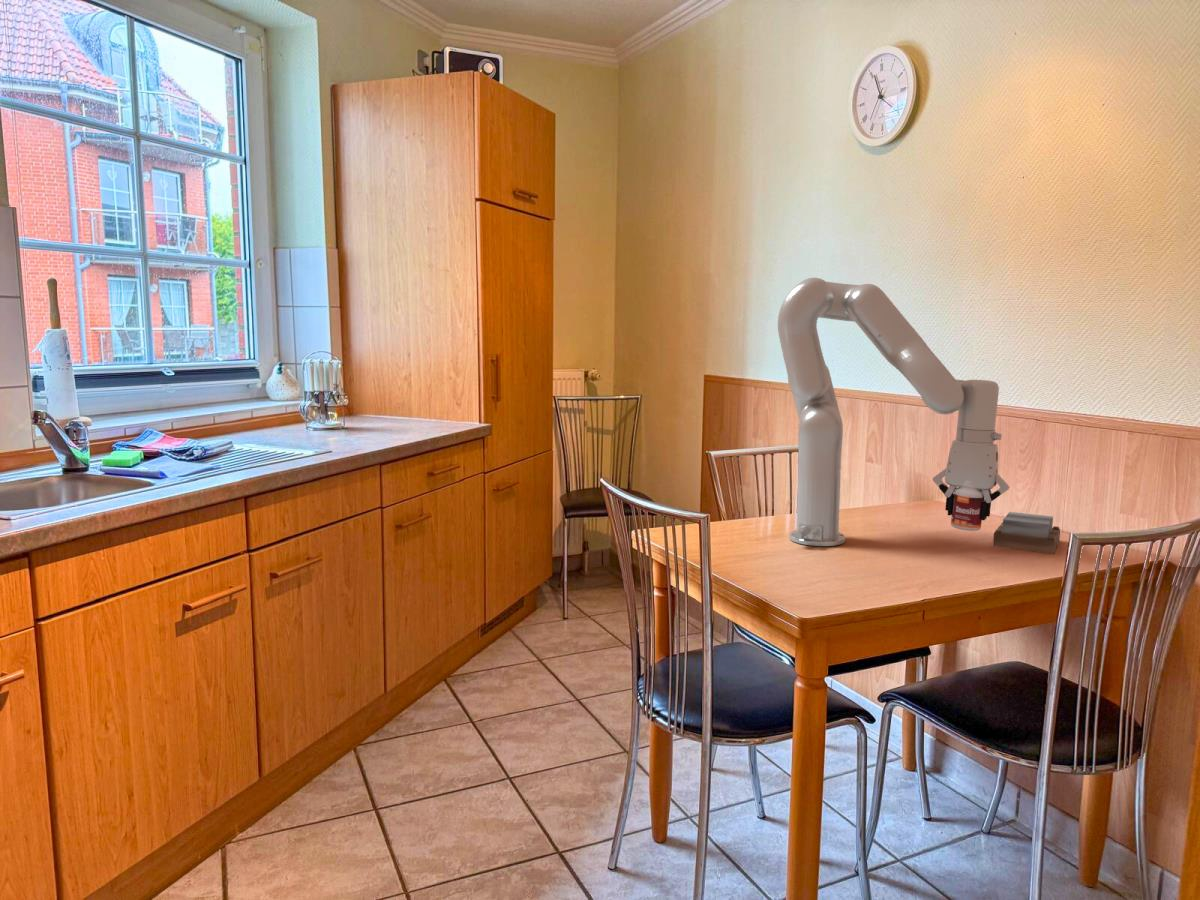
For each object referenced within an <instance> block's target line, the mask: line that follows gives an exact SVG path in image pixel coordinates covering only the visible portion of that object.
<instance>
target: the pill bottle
mask: <svg viewBox="0 0 1200 900" xmlns="http://www.w3.org/2000/svg"><path fill="white" fill-rule="evenodd" d="M963 486H965V487H957V488H956V489H955V491H954V493H953V494H954V500H953V509H952V515H951V521H950V526H951V527H953V528H954V529H957V530H963V531H969V532H971V531H980V530H981V528H982V522H983V520H981V511H982V503H983V502H984V499H985V498H984V496H983V493H982V490H980V489H975V488H974V485H973V482H972V481H965V482H964V484H963Z"/></svg>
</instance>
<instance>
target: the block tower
mask: <svg viewBox="0 0 1200 900" xmlns="http://www.w3.org/2000/svg"><path fill="white" fill-rule="evenodd" d="M1053 523H1054V516H1052V515H1042V514H1041V515H1040V514H1033V513H1025V512H1024V513H1022V512H1016V511H1015V512H1014V511H1009V512H1008V513H1007V515H1005V517H1004V518H1003V520H1002V522H1001V523H1000V525H999V526H998V527H997V528H996V530H995V531H994V532H993V539H992V543H993V544H992V547H997V548H1007V549H1015V550H1022V551H1027V552H1028V551H1029V552H1037V553H1045V554H1050V555H1051V554H1052V555H1054V554H1055V552H1056V550H1057V548H1058V545H1059V543H1060V541H1061V540H1060V538H1061V528H1060V526H1053Z"/></svg>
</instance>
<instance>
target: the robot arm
mask: <svg viewBox="0 0 1200 900" xmlns="http://www.w3.org/2000/svg"><path fill="white" fill-rule="evenodd" d="M818 318H820V319H827V320H828V319H830V320H834V321H835V320H836V321H842V322H843V321H844V322H853V323H856V324H857V326H858V327H859V328H860V329H861V331H862V332H863V333H864V334H865V335H866V337H867V338H868V339H869V340H870V342H871V343H872V344H873V346H874V347H875V348H876V349H877V350H878V351H879V353H880V355H882V356H883V357H884V359H885V360H887V362H888V363H889V365H891V366H893V367H894V368H895V369H896V370H897V371H899V372H900V374H901V375H903V377H904V378H905V379H906V380H907V381H908V382H909V384H911V386H912V387H913V388H914V389H915V391H916V392H917V394H918V395H920V397H921V400H922V402H923V403H924V405H925V406H926V407H927V408H929V409H930V410H931V411H933V412H934V413H936V414H939V415H951V414H954V413H955V412H957V413H958V414H957V424H956V434H955V440H954V439H953V440H952V442H951V446H950V448H949V452H948V457H947V462H946V468H944V469H943V470H942V471H941V472H939V473H938V474H936V475H935V476H934V477H932V481H933V482H934V484H935V485H936V486H937V487H938V488H939V490H940V491H941V492H942V493H943V495H944V496H945V498H946V500H945V508H944V509H945V511H947V516H952V509H953V500H954V491H955V489H956V488H958V487H965V486H963V484H964V482H965V481H972V482H973V485H974V488H975V489H980V490H982V493H983V496H984V502H983V503H982V511H981V520H982V521H985V520H987V517H990V514H991V508H992V507H991V506H992V502H993V501H994V500H996V499H997V498H998V497H1000V496H1001V495H1002V494H1004V493H1006V492H1007V491H1009V490H1010V485H1008V483H1007V482H1006V481H1005V480H1004V479H1003V478H1002V476H1001V475H999V450H998V449H999V448H998V444H997V443H994V442H996V441H1001V440H1002V437H1003V436H1002V433H998V432H997V431H996V419H997V411H998V401H999V392H1000V388H999V387H1000V386H999V384H998V383H997V382H995V381H994V380H985V379H967V380H963V379H956V378H955V377H954V376H953V374H952V373H951V372H950V370H948V369H947V367H946V366H945V365H944V363H943V362H942V361H941V360H940V359H939V358H938V357H937V355H936V354H935V353H934V352H933V351H932V350H931V349H930V347H929V346H928V345H927V343H926V341H925V340H924V339H923V337H921V335H920V334H919V333H918V332H917V331H916V329H915V328H914V327H913V325H912V324H910V322H909V321H908V320H907V319H906V317H905V316H904V315H903V314H902V313H901V311H900V309H898V307H897V306H896V305H895V304H894V303H893V302H892V301H891V299H890V297H888V296H887V294H886V293H885V291H883V290H882V289H881V288H880V287H879V286H877V285H875V284H873V283H864V284H849V283H838V282H833V281H826V280H824V279H822V278H819V277H809V278H806V279H804V280H802V281H800V282H799V283H797V284H796V286H795V287H793V288H792V289H791V291H790V292H788V294H787V295H786V296H785V298H784V300H783V301H782V304H781V306H780V309H779V312H778V316H777V330H778V331H777V332H778V337H779V343H780V347H781V351H782V356H783V360H784V364H785V368H786V375H787V383H788V386H789V389H790V390H791V393H792V396H793V397H792V398H793V401H794V404H795V408H796V413H797V416H798V420H799V421H798V422H799V423H798V430H797V431H798V433H797V434H798V437H797V438H798V439H797V440H798V445H797V446H798V454H797V457H798V458H797V493H796V494H797V499H796V500H797V502H796V503H797V504H796V529H795V530H792V531H790V533H789V539H790V541H792V542H794V543H796V544H799V545H805V546H813V547H834V546H840V545H842V544H844V543H845V542H846V535H845V534H843V533H842V532H839V528H840V500H841V469H842V468H841V467H842V448H843V436H844V435H843V434H844V429H843V428H844V426H843V425H844V424H843V419H842V417H841V416H842V415H841V413H840V409H839V404H838V400H837V398H836V397H837V396H836V394H835V390H834V385H833V381H832V377H831V372H830V370H829V366H827V364H826V361H825V359H824V358H825V357H824V355H823V349H822V347H821V341H820V337H819V331H818V328H817V327H818V326H817V323H818ZM943 478H944V480H945V481H943ZM948 485H949V486H948ZM997 485H998V486H999V488H998V489H997V490H996V491H994V492H992V489H993V488H994V487H996V486H997Z"/></svg>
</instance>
